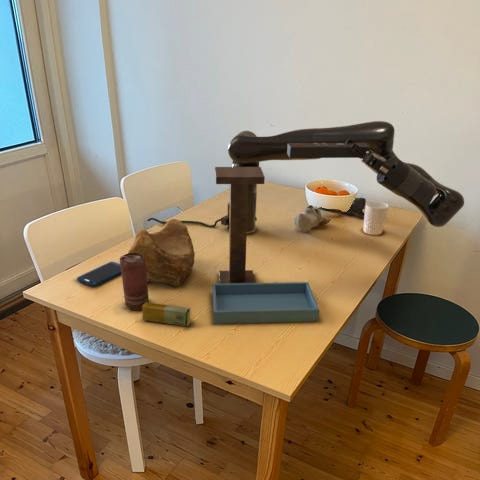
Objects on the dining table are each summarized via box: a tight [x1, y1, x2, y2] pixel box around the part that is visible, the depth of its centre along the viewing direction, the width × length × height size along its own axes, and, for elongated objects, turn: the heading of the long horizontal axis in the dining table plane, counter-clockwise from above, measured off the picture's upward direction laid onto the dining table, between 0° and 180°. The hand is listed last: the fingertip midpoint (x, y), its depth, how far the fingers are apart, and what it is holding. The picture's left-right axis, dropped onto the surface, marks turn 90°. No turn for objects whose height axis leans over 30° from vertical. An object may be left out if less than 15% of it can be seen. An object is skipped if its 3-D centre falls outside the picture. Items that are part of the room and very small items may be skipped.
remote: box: [287, 143, 370, 159], centre depth 120 cm, size 20×4×3 cm, turn 95°
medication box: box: [141, 302, 191, 327], centre depth 120 cm, size 12×3×4 cm, turn 79°
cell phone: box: [76, 261, 122, 288], centre depth 141 cm, size 7×14×1 cm, turn 146°
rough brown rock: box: [127, 218, 196, 287], centre depth 137 cm, size 23×17×15 cm
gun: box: [344, 197, 367, 220], centre depth 188 cm, size 4×20×10 cm, turn 55°
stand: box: [214, 166, 266, 284], centre depth 130 cm, size 12×10×32 cm
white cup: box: [362, 200, 390, 236], centre depth 171 cm, size 8×8×10 cm
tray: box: [211, 281, 320, 325], centre depth 127 cm, size 27×15×4 cm, turn 95°
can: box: [119, 252, 150, 311], centre depth 124 cm, size 6×6×14 cm
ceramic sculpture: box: [294, 204, 332, 233], centre depth 173 cm, size 11×9×15 cm
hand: (348, 144), depth 120 cm, fingers closed on remote, 4 cm apart
